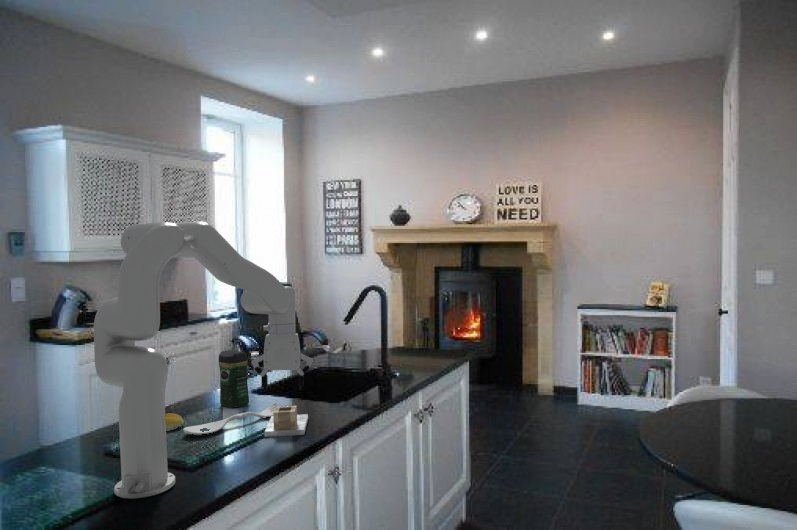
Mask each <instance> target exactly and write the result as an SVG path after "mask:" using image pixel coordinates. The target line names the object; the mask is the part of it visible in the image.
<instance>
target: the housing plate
mask: <svg viewBox="0 0 797 530" xmlns="http://www.w3.org/2000/svg"><path fill="white" fill-rule="evenodd" d="M284 406H292V405H291V404H286V405H284ZM308 422H309V414H308V413H305V414H297V425H296V428H295V429H285V430H274V419H273V416H271V417H270V418H269V421H268V423H267V425H266V427H265V430H264V437H265V438H267V437H268V438H269V437H288V436H289V437H290V436H305V432H306V429H307V426H308V425H307V424H308Z"/></svg>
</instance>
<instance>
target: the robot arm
mask: <svg viewBox="0 0 797 530" xmlns="http://www.w3.org/2000/svg"><path fill="white" fill-rule="evenodd" d="M120 246H121V249H122V251H123V253H124V254H125V257H124V259H122V262H121V264H120V268H119V271H118V279H117V297H113V298H109V299H107V300H106V301H104V302H103V303H102V304H100V305H99V307H98V308H97V311H96V314H95V317H94V320H93V321H94V322H93V345H94V349H93V350H94V351H93V352H94V367H95V371H96V374H97V376H98V378H99V379H100V381H102V382H103V383H105V384H107V385H109V386H111V387H112V386H113V387H118V388H122V394H121V397H120V401H119V406H118V423H119V424H118V427H119V428H118V429H119V430H118V431H119V448H120V450H119V451H120V452H119V454H120V469H121V471H120V473H121V475H120V476H121V480H120V481H118V482H117V483H116V484H115V485H114V487H113V493H114V495H116V496H117V497H119V498H121V499H143V498H148V497H152V496H156V495H159V494H162V493H164V492H166V491H168V490H170V489H171V488H172V487H173V486H174V485H175V484H176V476H175V474H173V473H172V472H168V471H169V469H168V468H169V467H168V453H167V452H168V450H167V449H168V447H167V446H168V445H167V432H166V421H165V414H166V403H165V402H166V386H167V380H168V373H169V365H168V363H167V360H166V357H165V356H164V355H163V354H162V352H160V351H158V350H157V349H154V348H152V347H148V346H140V345H136V344H135V343H136V342H137V341H138V342H139V341H141V342H143V341H144V342H145V341H149V340H151V339H153V338H154V337H155V336H156V335H157V334H158V332H159V330H160V325H161V305H160V304H161V303H160V301H161V299H160V296H161V295H160V286H161V285H160V283H161V276H162V272H163V270H164V269H165V267H166V265H167V264H168V263H169V261H170V260H172V259H173V258H175V257H193V259H195V260H197V262H198V263H200V264H201V265H202V267H204V268H205V270H207V271H208V272H209V273H210V274H211V275H212V276H213V277H214V278H216V280H217V281H219V282H220V283H224V284H226V285H228V286H231V287H235V288H238V289H241V290H244V291H243V293H242V294H241V296H240V305H241V307H242V308H243V309H244V310H245V312H248V313H250V314H254V315H255V314H257V315H268V324H267V325H263V331H267V332H268V334H266V335H265V337H264V338H265V339H264V347H263V354H262V355H260V356H258V357H256V358H254V359H253V360H251V362H250V363H251V364H252V367H253V368H254V371H256V373H258V375H259V376H260V377H261V381H260V382H261V388H263V391H264V392H265V391H267V390H268V388H269V387H268V382H269V380H268V378H269V377H268V375H267V373H268V372H269V371H294V370H295V371H296V372H297V373H298V375H297V390H299V391H301V389H302V387H304V382H305V381H304V375H305V374H306V373H307V372H308V371H309V369H311V366H312V364H313V362H314V359H313V358H311V357H309V356H308V355H305V354H303V353H302V352H301V344H300V337H299V334H298V333H297V332H296V290H295V287H293V286H288V285H287V286H286V285H285V286H284V285H283V283H281V281H280V280H279V279H278V278H276V277H277V276H276V277H275V275H274V274H272V273H271V272H269V271H268V270H266V269H264V268H263V267H261V266H259V265H257V264H256V263H254V262H252V261H250V260H249V259H247V258H245V257H243V256H242V255H241V254H240V253H239V252H238V251H237V250H236V249H235V248H234V247H233V246H232V245H231V244H230V242H228V241H227V240H226V238H224V237H223V235H222V234H221V233H220V232H219V231H218V230H217V229H216V228H215V227H214V226H212V225H211V224H209V223H208V222H206V221H205V222H204V221H191V222H190V221H188V222H175V223H173V222H169V221H168V222H167V221H166V222H165V221H164V222H163V221H158V222H149V223H148V222H147V223H138V224H137V223H136V224H131V225H130V226H129V227H127V228H126V229H125V230H124V231H123V232H122V235H121V236H120ZM301 360H302V361H304V362H306V364H305V366H304V367H302V366H301ZM262 361H263V368H261V366H260V365H259V363H260V362H262Z"/></svg>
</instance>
